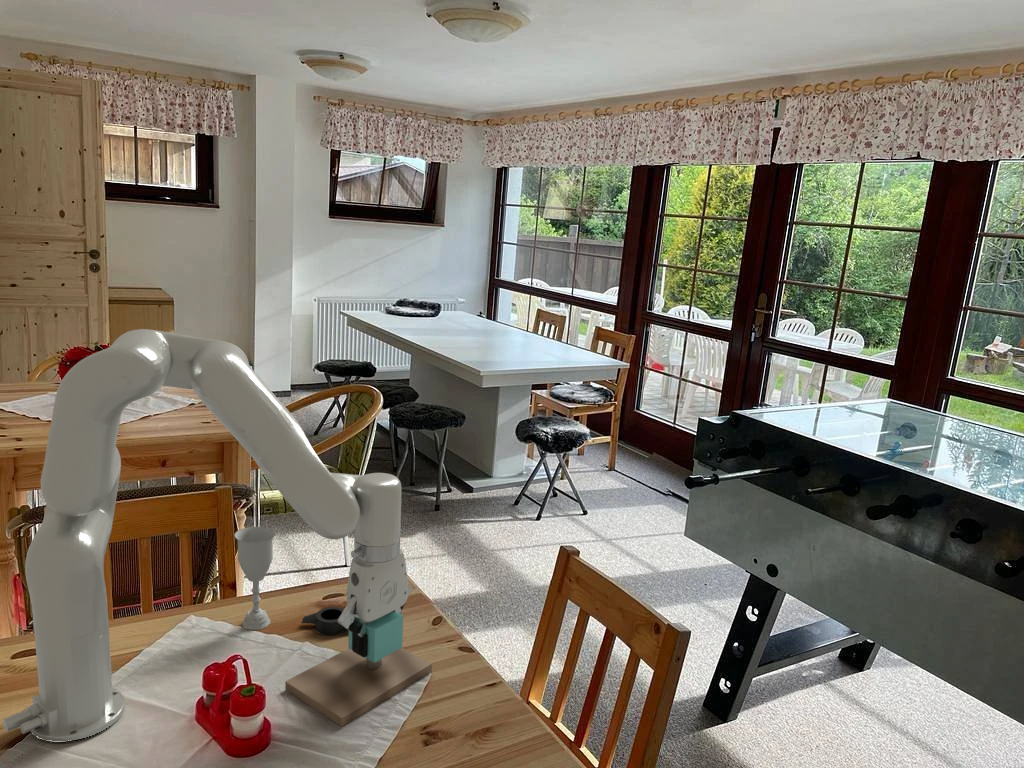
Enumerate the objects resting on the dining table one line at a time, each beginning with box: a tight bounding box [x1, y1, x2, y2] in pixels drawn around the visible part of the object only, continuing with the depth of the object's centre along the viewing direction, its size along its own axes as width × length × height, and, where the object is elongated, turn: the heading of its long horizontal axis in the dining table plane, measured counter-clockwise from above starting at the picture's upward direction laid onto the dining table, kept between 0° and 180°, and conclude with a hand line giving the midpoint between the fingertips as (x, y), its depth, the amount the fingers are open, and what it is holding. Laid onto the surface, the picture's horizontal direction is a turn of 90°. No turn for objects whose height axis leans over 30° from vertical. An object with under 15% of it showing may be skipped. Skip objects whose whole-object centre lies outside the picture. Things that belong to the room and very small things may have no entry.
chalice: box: [234, 526, 276, 631], centre depth 145 cm, size 7×7×18 cm
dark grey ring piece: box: [301, 606, 347, 636], centre depth 147 cm, size 8×10×3 cm
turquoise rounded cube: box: [348, 611, 404, 663], centre depth 132 cm, size 6×6×6 cm
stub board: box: [284, 646, 433, 727], centre depth 131 cm, size 20×14×6 cm
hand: (375, 644), depth 132 cm, fingers closed on turquoise rounded cube, 6 cm apart
